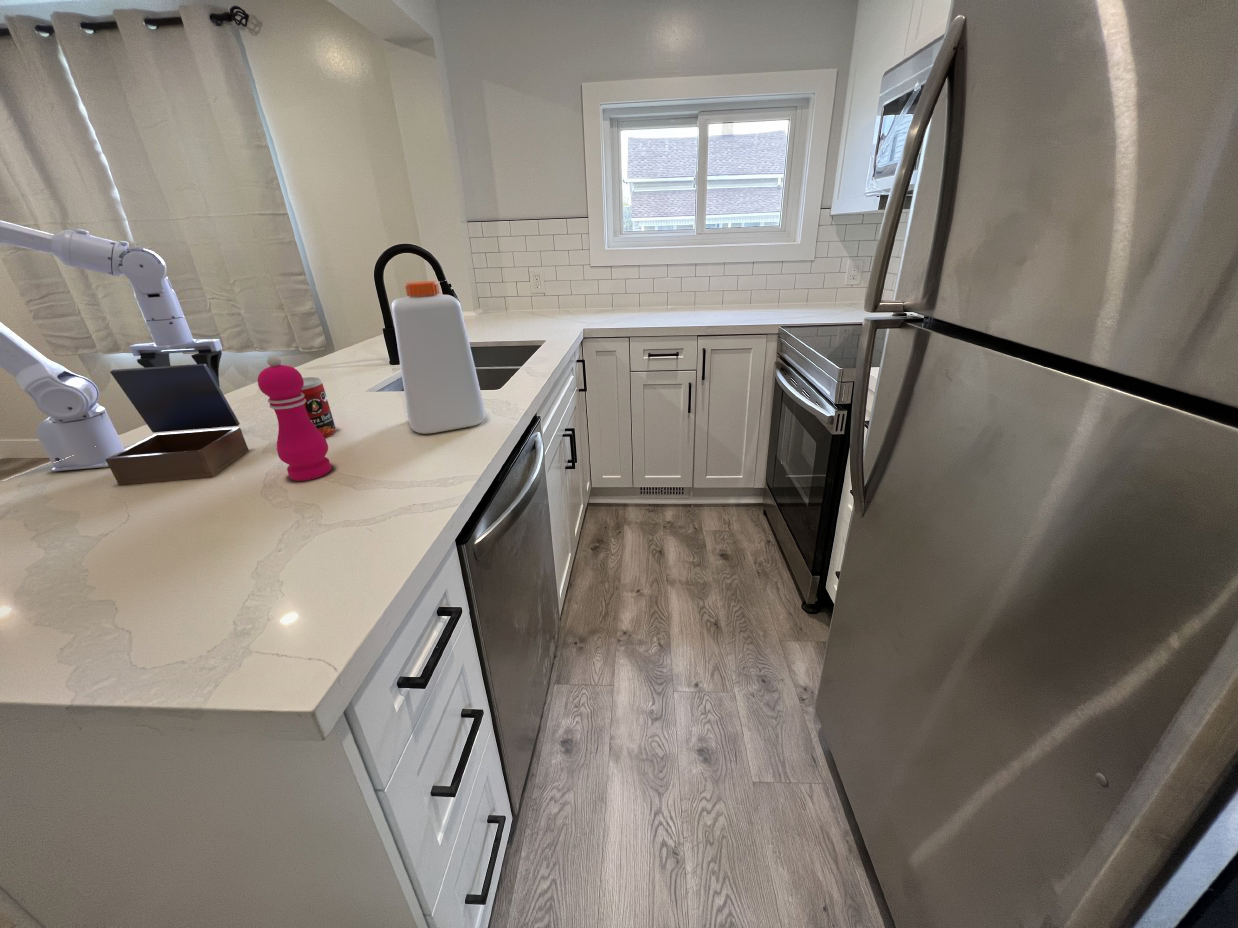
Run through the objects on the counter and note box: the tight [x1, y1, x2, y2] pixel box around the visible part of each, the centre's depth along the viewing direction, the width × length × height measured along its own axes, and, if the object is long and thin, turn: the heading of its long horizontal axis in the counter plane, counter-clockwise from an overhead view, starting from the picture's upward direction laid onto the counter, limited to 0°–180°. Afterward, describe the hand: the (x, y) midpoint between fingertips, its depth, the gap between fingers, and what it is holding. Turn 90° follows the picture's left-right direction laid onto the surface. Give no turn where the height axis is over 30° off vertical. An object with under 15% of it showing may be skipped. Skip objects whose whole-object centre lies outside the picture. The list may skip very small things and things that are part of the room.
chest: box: [105, 426, 250, 486], centre depth 88 cm, size 12×15×5 cm
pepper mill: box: [257, 355, 332, 482], centre depth 80 cm, size 7×7×20 cm
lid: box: [109, 363, 240, 434], centre depth 90 cm, size 12×15×5 cm
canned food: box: [301, 376, 336, 439], centre depth 99 cm, size 8×8×11 cm
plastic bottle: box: [391, 280, 487, 435], centre depth 101 cm, size 15×15×28 cm
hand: (194, 389), depth 98 cm, fingers open, 7 cm apart
